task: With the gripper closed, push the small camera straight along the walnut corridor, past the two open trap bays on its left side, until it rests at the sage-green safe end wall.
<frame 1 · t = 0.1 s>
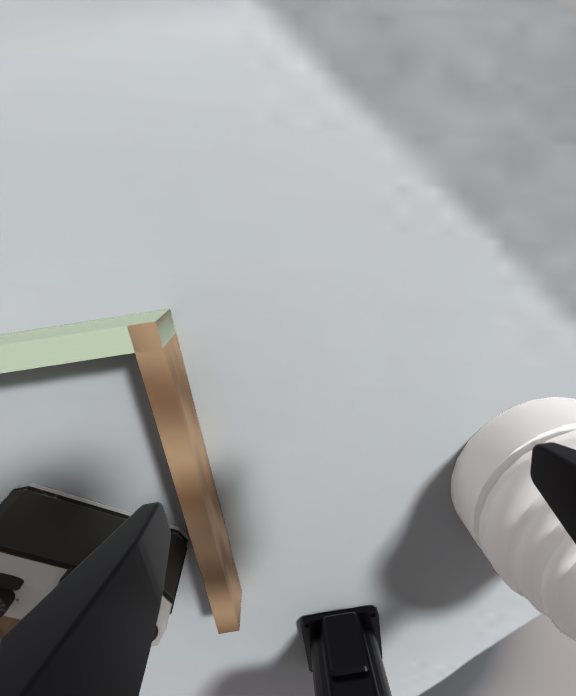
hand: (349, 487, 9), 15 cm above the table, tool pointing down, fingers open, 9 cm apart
camera: (99, 537, 27), on the table
trap box: (76, 492, 26), on the table
honey pot: (532, 472, 28), on the table
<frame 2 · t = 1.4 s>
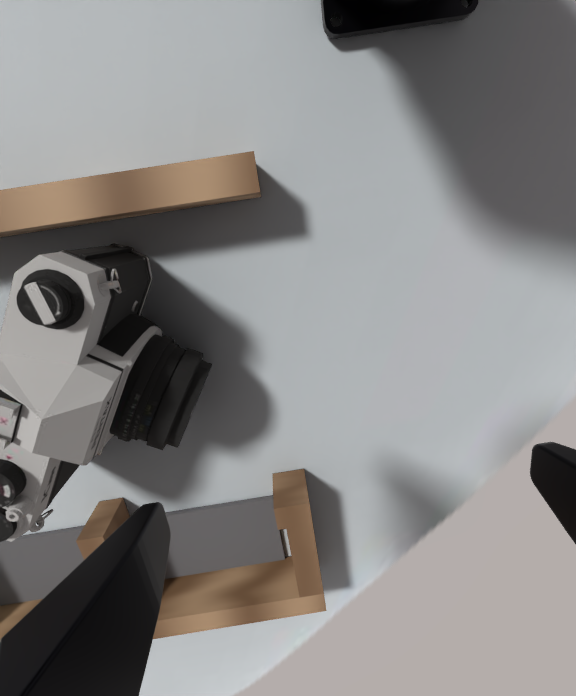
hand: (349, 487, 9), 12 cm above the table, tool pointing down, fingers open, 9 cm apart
camera: (137, 366, 21), on the table
trap box: (76, 383, 20), on the table
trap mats: (133, 552, 24), resting in trap box
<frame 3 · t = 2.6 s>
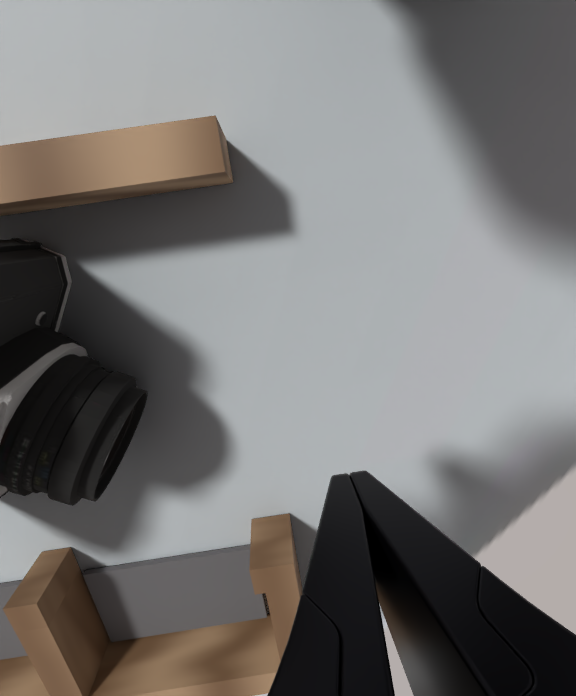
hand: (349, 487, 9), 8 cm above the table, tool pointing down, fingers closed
camera: (60, 391, 17), on the table
trap box: (7, 412, 16), on the table
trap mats: (84, 609, 20), resting in trap box
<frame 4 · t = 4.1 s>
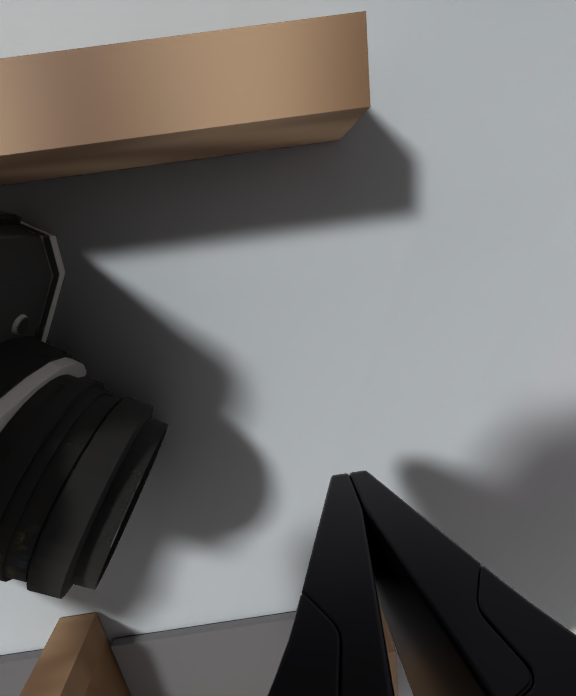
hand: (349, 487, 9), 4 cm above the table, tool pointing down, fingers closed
camera: (51, 418, 12), on the table
trap box: (18, 449, 12), on the table
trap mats: (111, 684, 16), resting in trap box
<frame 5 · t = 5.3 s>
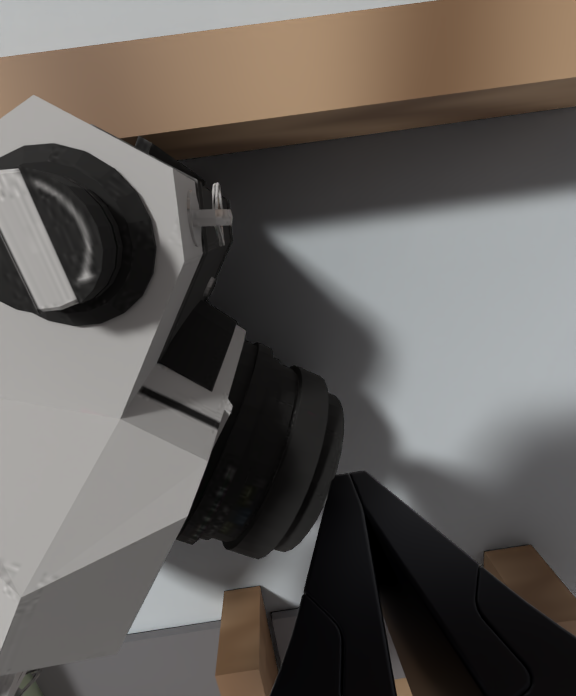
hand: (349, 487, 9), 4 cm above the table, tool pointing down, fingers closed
camera: (189, 389, 12), on the table, touching gripper
trap box: (216, 419, 13), on the table
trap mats: (263, 658, 16), resting in trap box
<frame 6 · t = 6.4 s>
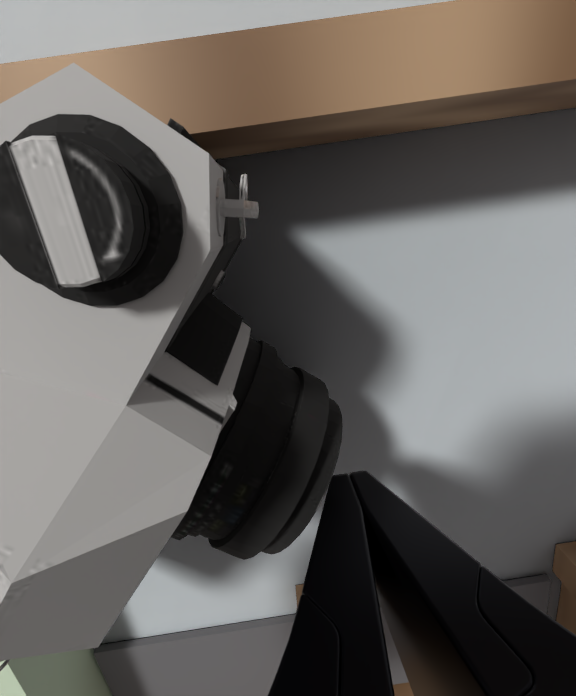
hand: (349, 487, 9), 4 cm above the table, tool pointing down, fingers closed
camera: (185, 381, 12), on the table
trap box: (301, 411, 13), on the table
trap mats: (329, 653, 16), resting in trap box
safe end wall: (19, 538, 14), on the table
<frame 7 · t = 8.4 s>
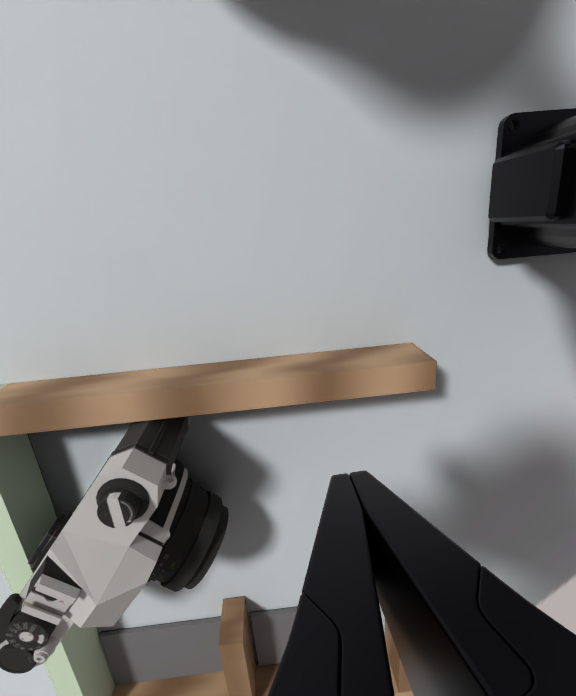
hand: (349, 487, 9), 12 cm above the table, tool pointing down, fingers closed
camera: (156, 488, 23), on the table
trap box: (225, 504, 23), on the table
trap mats: (244, 641, 27), resting in trap box
safe end wall: (62, 568, 24), on the table
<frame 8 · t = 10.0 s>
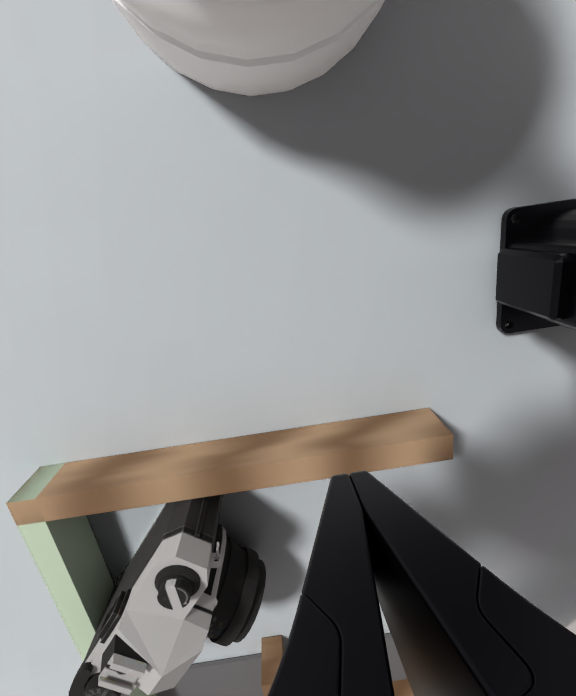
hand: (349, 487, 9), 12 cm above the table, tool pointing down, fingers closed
camera: (196, 544, 25), on the table, touching trap box
trap box: (261, 556, 25), on the table
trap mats: (282, 674, 29), resting in trap box
safe end wall: (115, 616, 26), on the table
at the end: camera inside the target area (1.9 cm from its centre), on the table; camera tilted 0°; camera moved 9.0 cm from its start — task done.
